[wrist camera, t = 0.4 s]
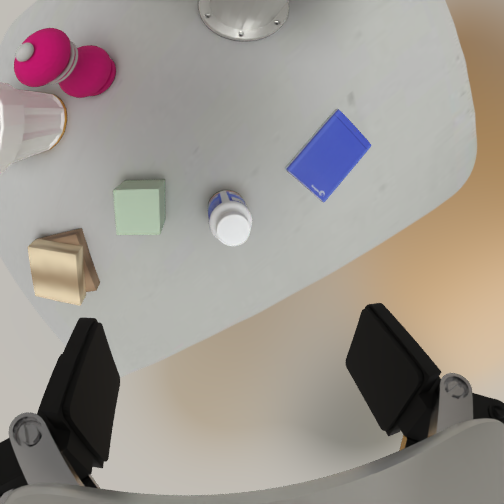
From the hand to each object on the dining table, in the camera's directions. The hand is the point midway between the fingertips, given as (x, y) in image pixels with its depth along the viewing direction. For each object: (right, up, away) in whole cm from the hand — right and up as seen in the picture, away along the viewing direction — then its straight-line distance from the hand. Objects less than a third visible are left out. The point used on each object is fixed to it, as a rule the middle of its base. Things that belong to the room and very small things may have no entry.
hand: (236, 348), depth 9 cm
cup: (-31, +23, +21) cm, 43 cm away
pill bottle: (-3, +10, +32) cm, 34 cm away
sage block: (-15, +11, +30) cm, 35 cm away
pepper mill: (-21, +28, +20) cm, 40 cm away
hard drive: (+12, +18, +32) cm, 39 cm away
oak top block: (-30, +1, +29) cm, 42 cm away
